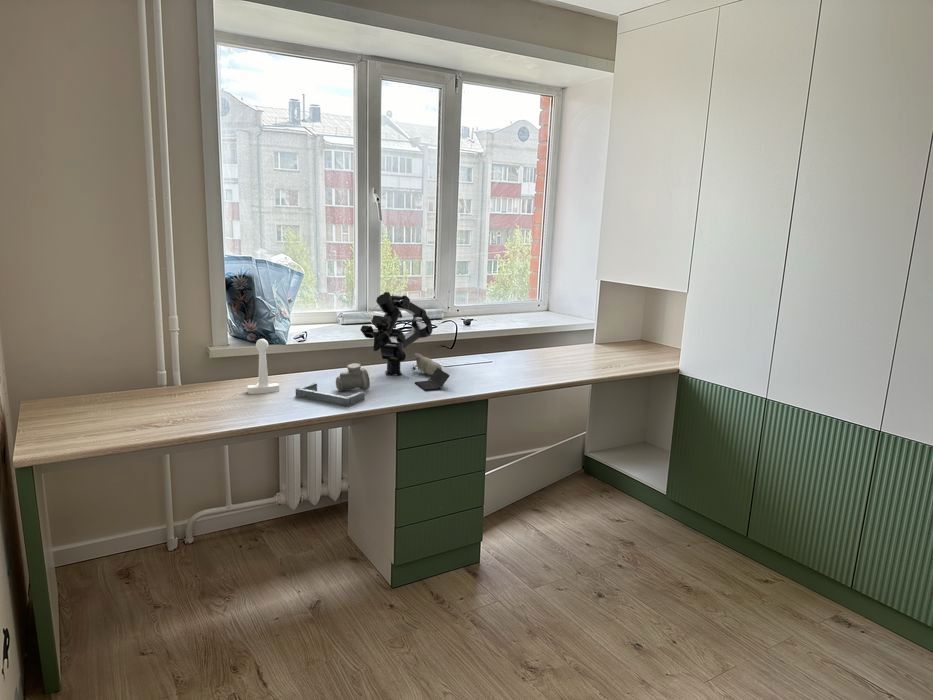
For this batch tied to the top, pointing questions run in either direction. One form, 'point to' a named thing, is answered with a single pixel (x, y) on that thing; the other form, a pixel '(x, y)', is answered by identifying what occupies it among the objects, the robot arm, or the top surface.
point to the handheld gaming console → (434, 381)
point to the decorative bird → (426, 364)
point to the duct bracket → (328, 396)
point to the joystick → (262, 372)
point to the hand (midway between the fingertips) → (374, 350)
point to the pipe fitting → (353, 378)
